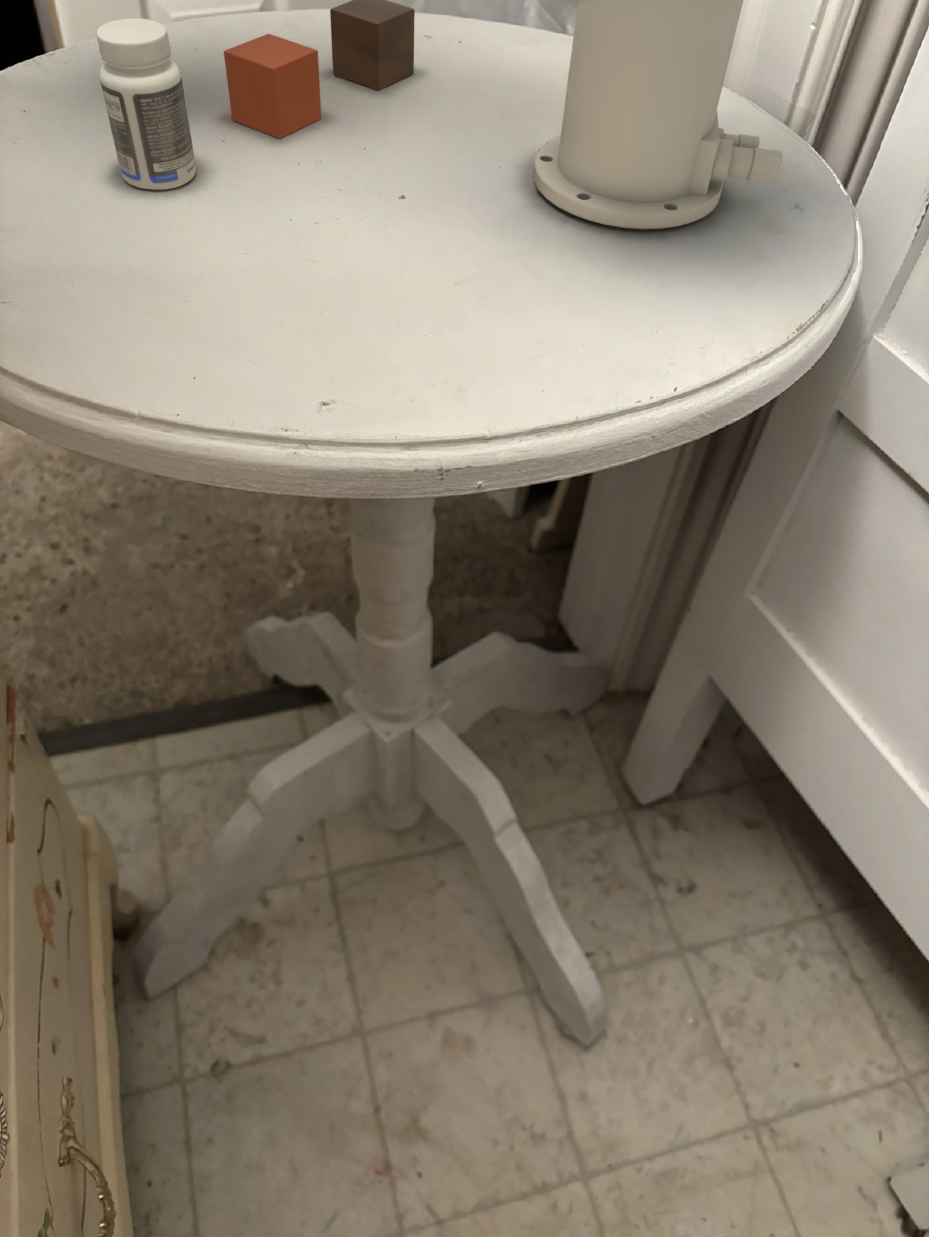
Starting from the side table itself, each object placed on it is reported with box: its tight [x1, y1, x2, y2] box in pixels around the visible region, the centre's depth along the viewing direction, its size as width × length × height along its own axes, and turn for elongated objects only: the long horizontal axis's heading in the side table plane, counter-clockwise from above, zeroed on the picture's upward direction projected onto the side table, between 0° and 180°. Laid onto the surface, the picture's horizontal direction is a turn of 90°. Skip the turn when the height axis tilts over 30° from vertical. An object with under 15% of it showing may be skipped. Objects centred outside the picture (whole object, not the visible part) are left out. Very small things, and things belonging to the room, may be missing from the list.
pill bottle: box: [96, 17, 197, 191], centre depth 59 cm, size 5×5×8 cm
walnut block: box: [329, 0, 416, 91], centre depth 73 cm, size 4×4×4 cm
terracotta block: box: [223, 33, 322, 139], centre depth 66 cm, size 4×4×4 cm
